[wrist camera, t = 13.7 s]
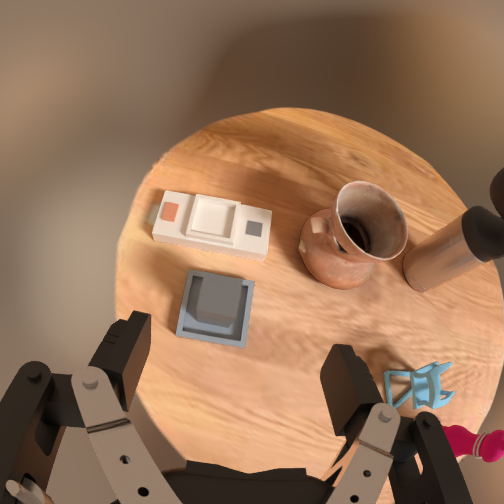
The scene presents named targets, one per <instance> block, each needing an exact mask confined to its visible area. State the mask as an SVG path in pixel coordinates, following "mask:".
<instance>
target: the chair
mask: <svg viewBox="0 0 504 504" xmlns="http://www.w3.org/2000/svg"><path fill="white" fill-rule="evenodd" d="M451 365H452V362H448V363H444V364H441V365H439V363H438V362H434V363H431V364H429V365H426V366H424V367H422V368H420V369H418V370H415V371H413V372H410V371H385V372H384V373H383V375H384V382H385V390H386V398H387V404H389V405H391V406H393V407H394V408H395V409H397V408H398V407H399V406H400V405H401V404H403V403H404V402H405V401H406V400H407V399H408V398H409V397H410V396H411V395H412V394H413V409H418V408H420V407H422V406H424V405H427V406H428V407H430V408H432V409H435V408H439V407H442V406H444V405H446V404H447V403H448V402H449V401H450V399H451V398H452V396H453V395H454V394H455V391H451V392H449V391H443V390H441V383H440V374H441V373H442V372H444V371H446V370H447V369H448V368H449V367H450V366H451ZM389 375H398V376H409V377H410V381H411V386H412V388H411V389H410V390H409V391H407V392H406V393H405V394H404V395H403V396H402V397H401V398H400V399H399V400H398V401H397V402H396V403H395V404H394V405H392V395H391V385H390V377H389ZM442 395H447V396H446V397H445V398H443V399H441V400H440V397H441V396H442Z"/></svg>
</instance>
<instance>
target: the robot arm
mask: <svg viewBox="0 0 504 504" xmlns="http://www.w3.org/2000/svg"><path fill="white" fill-rule="evenodd" d="M490 197H491V200H492V202H493V204H494V206H495V208H496V210H497V211H498V213H499V214H500V215H501V217H502V218H501V217H498V216H496V215H494V214H493V213H491V212H490V211H488V210H487V209H485V208H483V207H481V206H474V207H472V208H470V209H469V210H467V211H466V212H465V213H463V214H462V215H461V216H459V217H458V218H457V219H455V220H454V221H453V222H451V223H450V224H448V225H447V226H445V227H444V228H442V229H440V230H439V231H437V232H436V233H435V234H433V235H432V236H430V237H429V238H427V239H426V240H424V241H423V242H421V243H420V244H418V245H417V246H415V248H413V249H412V250H410V251H409V252H407V253H406V255H405V257H404V259H403V272H404V275H405V278H406V280H407V282H408V283H409V285H410V286H411V287H412V288H413V289H415V290H416V291H419V292H426V291H428V290H430V289H433V288H435V287H437V286H440V285H442V284H444V283H446V282H448V281H450V280H453V279H455V278H457V277H459V276H461V275H463V274H465V273H467V272H469V271H471V270H473V269H475V268H477V267H479V266H481V265H483V264H485V263H486V262H488V261H490V260H493V259H499V258H501V257H504V168H503V169H501V170H500V171H499V172H498V173H497V174H496V176H495V177H494V179H493V180H492V183H491V185H490ZM150 345H151V314H148V313H144V312H139V311H135V310H134V311H133V312H132V314H131V315H130V317H129V319H128V321H126V320H122V319H119V320H118V321H116V322H115V323H114V324H112V325H111V326H110V328H109V330H108V332H107V334H106V335H105V337H104V339H103V341H102V342H101V344H100V345H99V347H98V349H97V350H96V352H95V354H94V356H93V357H92V359H91V361H90V363H89V365H88V366H86V367H82V368H80V369H78V370H77V371H75V372H74V374H71V375H66V374H54V373H51V371H50V369H49V368H48V366H47V365H45V364H44V363H42V362H39V361H31V362H28V363H26V364H24V365H23V366H22V367H21V368H20V369H19V371H18V373H17V374H16V376H15V377H14V379H13V381H12V383H11V384H10V386H9V388H8V389H7V391H6V393H5V395H4V397H3V398H2V400H1V402H0V504H55V503H54V501H53V500H52V498H51V497H50V496H49V495H48V494H47V493H46V488H47V485H48V481H49V477H50V474H51V470H52V468H53V464H54V461H55V458H56V454H57V452H58V449H59V446H60V443H61V440H62V437H63V434H64V432H65V429H66V426H69V427H81V428H86V429H87V433H88V435H89V438H90V441H91V443H92V445H93V448H94V450H95V452H96V455H97V457H98V459H99V462H100V464H101V466H102V468H103V470H104V472H105V474H106V476H107V478H108V480H109V483H110V484H111V486H112V488H113V490H114V492H115V494H116V496H117V498H118V499H117V500H115V501H114V502H112V503H111V504H376V501H377V499H378V497H379V495H380V492H381V490H382V488H383V485H384V483H385V480H386V478H387V475H388V477H389V480H390V484H391V488H392V492H393V496H394V500H395V504H473V502H472V500H471V497H470V494H469V491H468V488H467V486H466V483H465V480H464V478H463V475H462V472H461V470H460V467H459V465H458V462H457V460H456V458H455V455H454V453H453V450H452V448H451V446H450V443H449V441H448V439H447V437H446V434H445V432H444V430H443V428H442V426H441V424H440V421H439V420H438V418H437V417H436V416H435V415H434V414H432V413H430V412H420V413H419V414H418V415H417V416H416V417H415V418H414V419H413V418H407V417H402V416H400V415H399V413H398V411H397V410H396V409H395V408H394V407H393V406H391V405H389V404H386V403H384V402H383V400H382V397H381V395H380V393H379V391H378V388H377V386H376V384H375V382H374V381H373V377H372V375H371V374H370V371H369V369H368V367H367V365H366V363H365V362H364V361H363V360H362V359H361V358H360V357H359V356H356V355H355V352H354V350H353V348H352V346H351V345H343V344H334V345H333V346H332V348H331V350H330V352H329V354H328V356H327V358H326V360H325V362H324V364H323V366H322V368H321V372H320V380H321V384H322V388H323V391H324V395H325V399H326V402H327V406H328V410H329V413H330V417H331V421H332V425H333V428H334V432H335V436H345V437H346V440H345V442H344V443H343V445H342V446H341V448H340V450H339V452H338V453H337V455H336V457H335V458H334V460H333V462H332V463H331V465H330V467H329V468H328V470H327V471H326V473H325V474H324V475H323V477H322V478H321V479H318V478H315V477H312V476H309V475H307V474H306V468H278V469H273V470H268V471H262V472H257V473H250V474H248V473H243V472H240V471H236V470H233V469H230V468H227V467H223V466H220V465H217V464H209V463H202V462H195V461H189V460H187V465H186V467H177V468H171V469H167V470H164V471H162V472H160V471H159V469H158V468H157V466H156V465H155V463H154V461H153V459H152V458H151V456H150V454H149V453H148V451H147V449H146V448H145V446H144V444H143V443H142V441H141V439H140V437H139V435H138V433H137V432H136V430H135V428H134V426H133V424H132V422H131V421H130V420H128V419H127V418H126V416H125V414H124V412H123V411H126V412H128V411H129V408H130V405H131V402H132V399H133V396H134V393H135V390H136V387H137V385H138V382H139V379H140V376H141V373H142V371H143V368H144V365H145V363H146V360H147V357H148V354H149V351H150ZM417 453H418V454H419V457H420V460H421V462H422V465H423V472H422V474H421V475H420V472H419V469H418V466H417V463H416V460H415V457H414V456H415V455H416V454H417Z"/></svg>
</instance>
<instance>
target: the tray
mask: <svg viewBox="0 0 504 504" xmlns="http://www.w3.org/2000/svg"><path fill="white" fill-rule="evenodd" d="M204 273H205V272H201V271H196V270H191V269H189V270H188V275H187V279H186V284H185V289H184V294H183V299H182V304H181V309H180V314H179V319H178V324H177V330H176V336H177V337H182V338H187V339H192V340H198V341H203V342H208V343H214V344H220V345H226V346H232V347H239V348H245V347H246V340H247V333H248V326H249V318H250V311H251V304H252V297H253V289H254V282H255V281H250V280H244V279H242V280H243V283H242V288H241V294H240V300H239V305H238V311H237V316H236V319H235V320H234V321H233V323H232V324H231V325H230V327H229V328H226V327H221V326H216V325H211V324H206V323H201V322H198V320H197V310H196V309H197V304H198V300H199V295H200V291H201V286H202V282H203V277H204ZM237 279H239V278H237Z"/></svg>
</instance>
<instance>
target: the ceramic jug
mask: <svg viewBox="0 0 504 504" xmlns="http://www.w3.org/2000/svg"><path fill="white" fill-rule="evenodd" d="M407 238H408V231H407V222H406V219H405V216H404V214H403V212H402V210H401V208H400V207H399V205H398V203H397V202H396V201H395V199H394V198H393V197H391V195H390V194H389V193H387V192H386V191H385V190H383V189H382V188H380V187H378V186H377V185H375V184H373V183H369V182H366V181H353V182H350V183H348V184H346V185H344V186H343V187H342V188H341V189H340V190H339V192H338V193H337V195H336V197H335V199H334V201H333V204H332V207H331V208H327V209H323V210H320V211H318V212H316V213H314V214H313V215H311V216H310V217H309V218H308V220H307V221H306V222H305V224H304V226H303V228H302V231H301V235H300V244H299V247H298V250H299V252H300V255H301V257H302V259H303V262H304V264H305V265H306V267H307V269H308V270H309V271H310V273H311V274H312V275H313V276H314V277H315V278H316V279H317V280H318V281H320V282H321V283H323V284H325V285H327V286H329V287H331V288H335V289H341V290H347V289H353V288H356V287H358V286H360V285H362V284H363V283H365V282H366V281H367V280H368V279H369V278H370V276H371V275H372V273H373V271H374V269H375V266H376V263H378V262H383V261H387V260H390V259H393V258H395V257H396V256H398V255H399V254H400V253H401V252H402V250H403V249H404V247H405V245H406V242H407Z"/></svg>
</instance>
